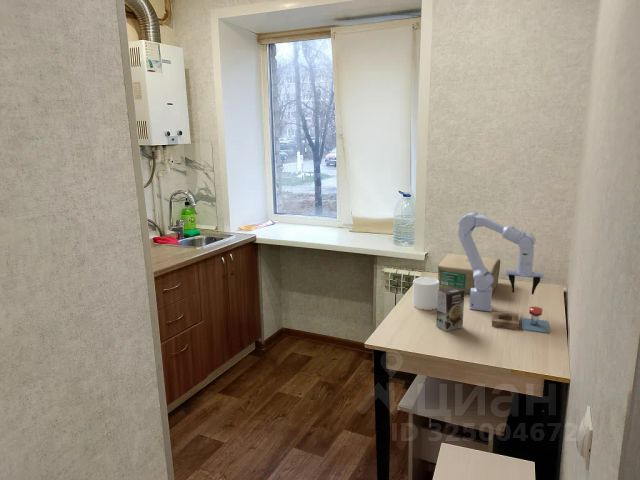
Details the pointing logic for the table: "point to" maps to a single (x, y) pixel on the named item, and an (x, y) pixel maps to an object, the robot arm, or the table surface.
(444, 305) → the coffee box
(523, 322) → the mat
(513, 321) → the eye block
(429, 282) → the cup
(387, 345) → the table surface
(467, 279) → the paper package
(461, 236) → the robot arm
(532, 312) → the red mushroom head
